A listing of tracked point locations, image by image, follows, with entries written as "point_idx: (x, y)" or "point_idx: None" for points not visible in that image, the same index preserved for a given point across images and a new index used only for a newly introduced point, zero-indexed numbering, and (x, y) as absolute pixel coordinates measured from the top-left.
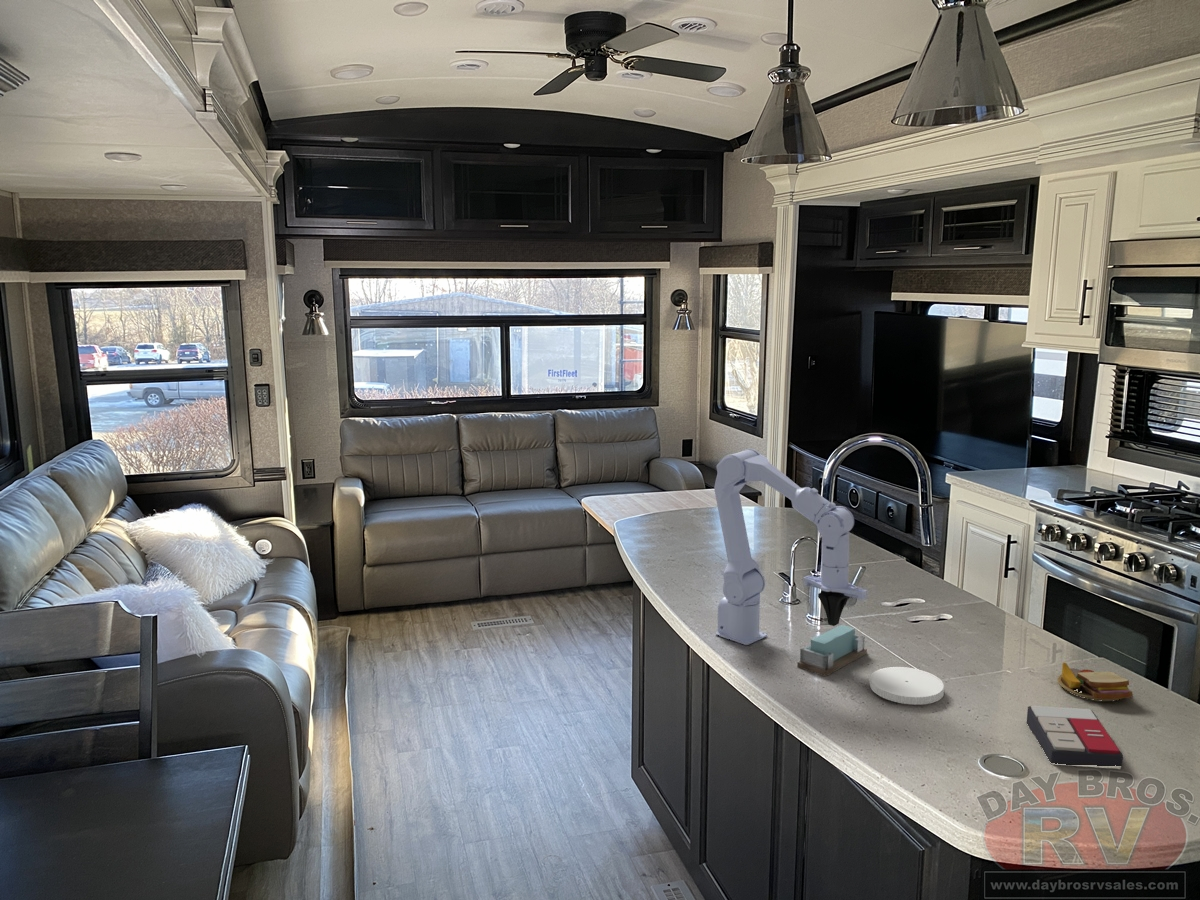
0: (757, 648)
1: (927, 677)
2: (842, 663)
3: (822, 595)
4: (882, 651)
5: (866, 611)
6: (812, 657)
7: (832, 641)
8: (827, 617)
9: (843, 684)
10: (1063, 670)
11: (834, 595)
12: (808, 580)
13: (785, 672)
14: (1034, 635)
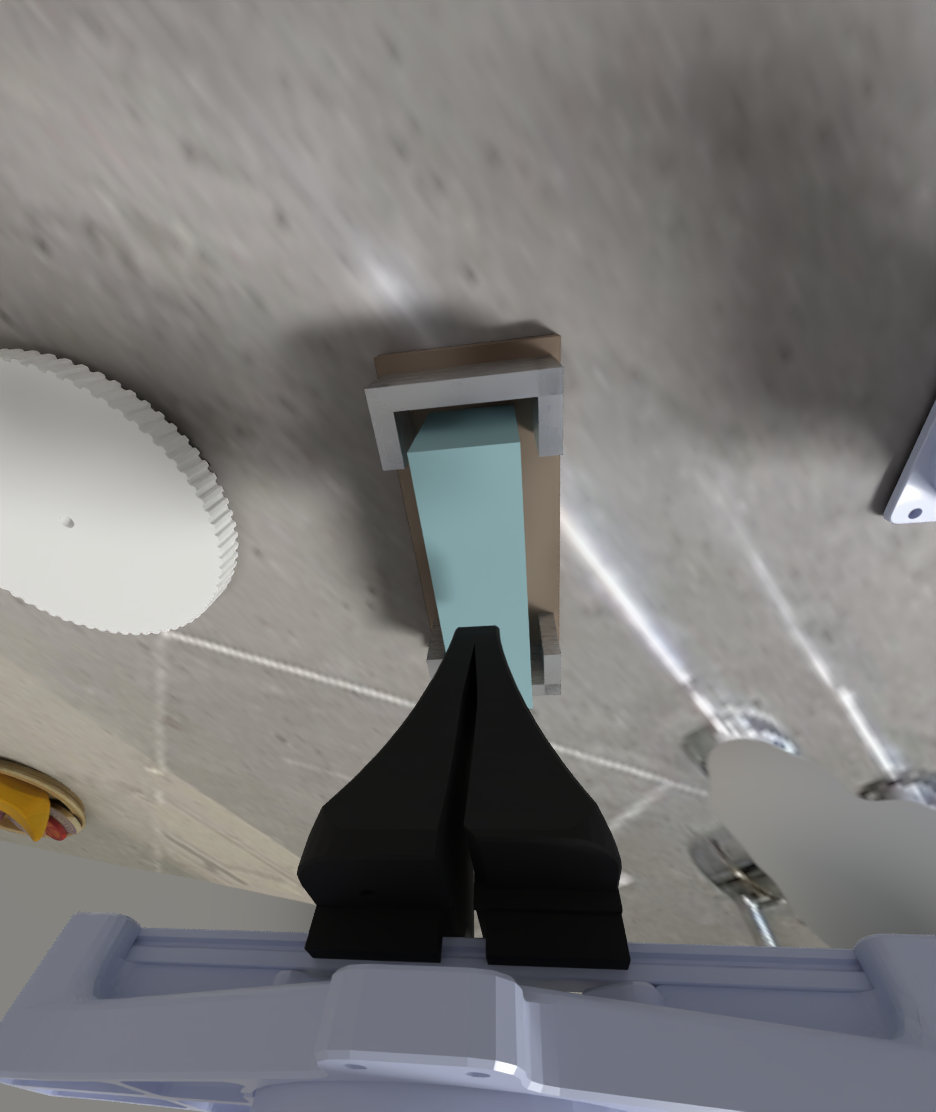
0: (881, 354)
1: (84, 601)
2: (406, 510)
3: (532, 848)
4: (419, 690)
5: (634, 837)
6: (467, 372)
7: (425, 535)
8: (495, 656)
9: (262, 350)
10: (22, 817)
11: (401, 896)
12: (934, 1097)
13: (560, 193)
14: (291, 890)
